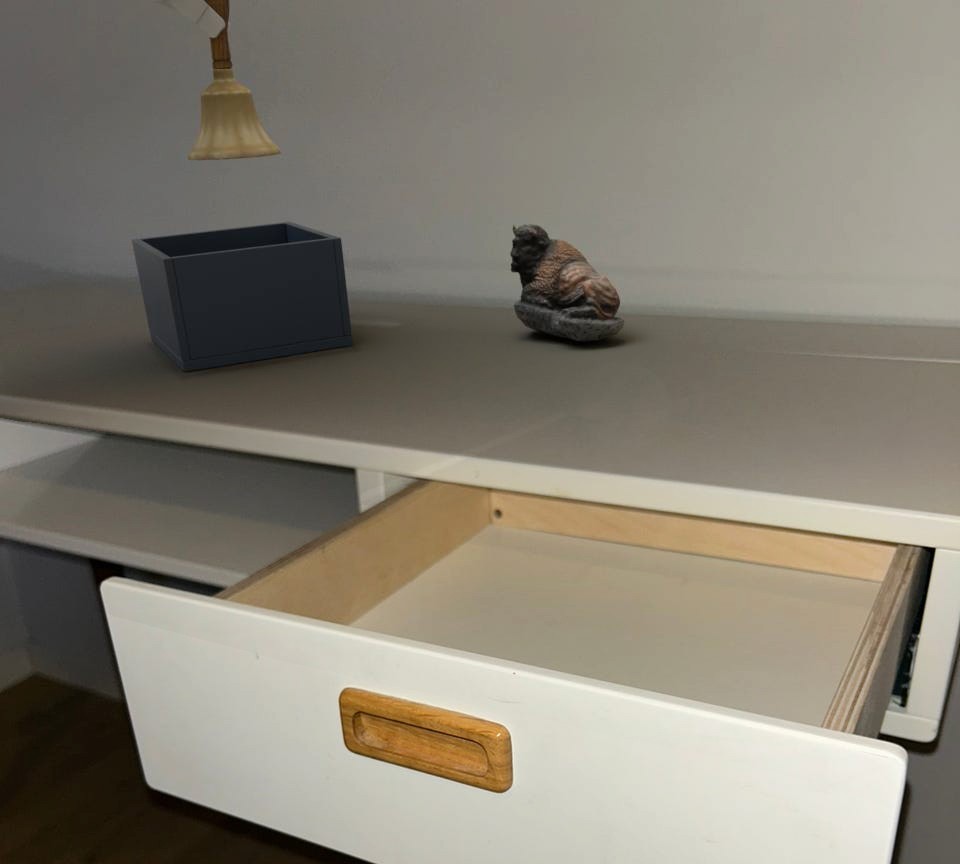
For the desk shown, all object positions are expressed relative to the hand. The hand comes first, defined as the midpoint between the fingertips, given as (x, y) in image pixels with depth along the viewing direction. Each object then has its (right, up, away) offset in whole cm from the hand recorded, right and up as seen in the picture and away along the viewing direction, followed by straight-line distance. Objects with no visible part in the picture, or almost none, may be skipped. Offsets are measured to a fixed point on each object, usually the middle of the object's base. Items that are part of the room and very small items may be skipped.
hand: (223, 32), depth 92 cm
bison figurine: (+30, -24, +10) cm, 40 cm away
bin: (-1, -22, +16) cm, 28 cm away
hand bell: (0, -9, +5) cm, 10 cm away
